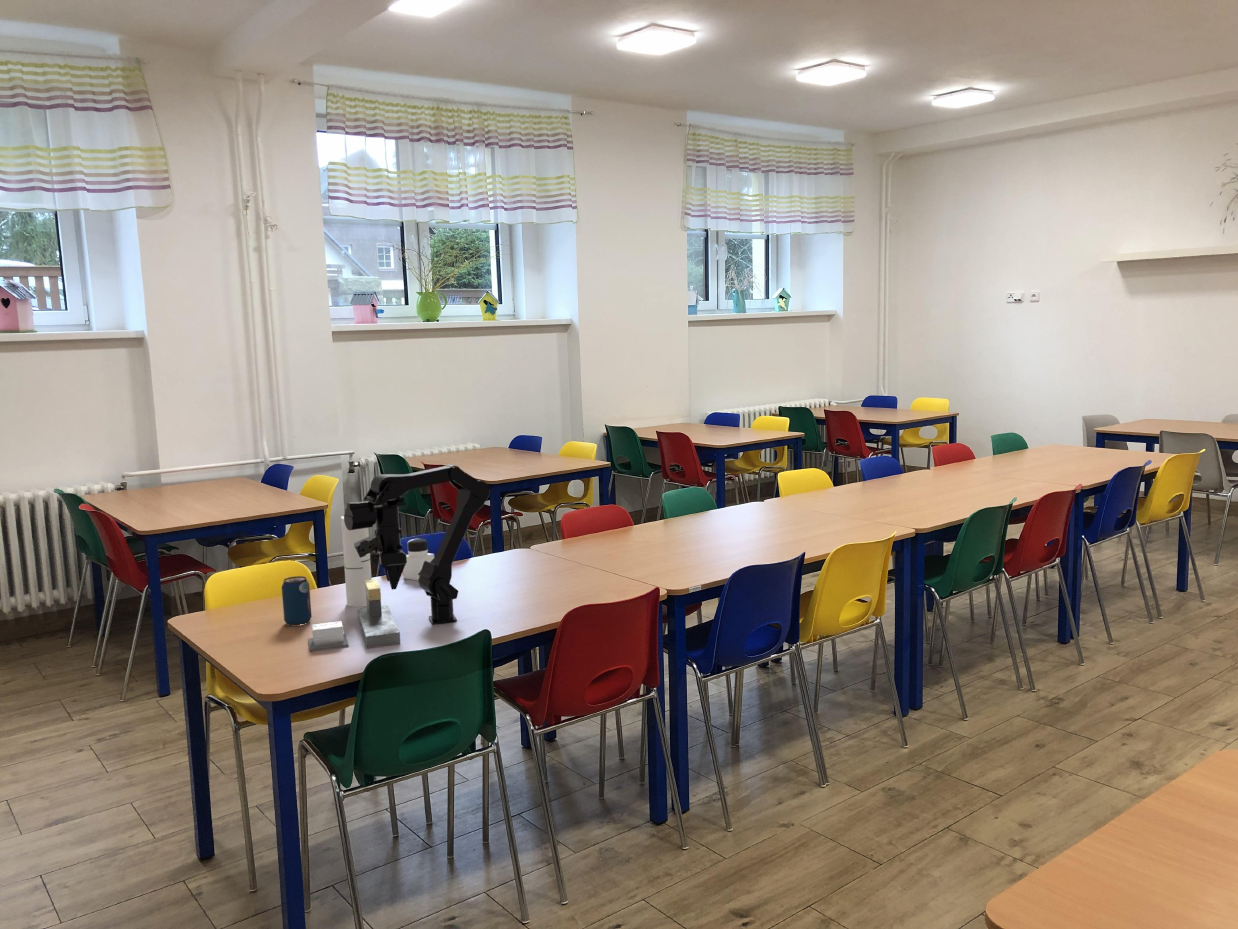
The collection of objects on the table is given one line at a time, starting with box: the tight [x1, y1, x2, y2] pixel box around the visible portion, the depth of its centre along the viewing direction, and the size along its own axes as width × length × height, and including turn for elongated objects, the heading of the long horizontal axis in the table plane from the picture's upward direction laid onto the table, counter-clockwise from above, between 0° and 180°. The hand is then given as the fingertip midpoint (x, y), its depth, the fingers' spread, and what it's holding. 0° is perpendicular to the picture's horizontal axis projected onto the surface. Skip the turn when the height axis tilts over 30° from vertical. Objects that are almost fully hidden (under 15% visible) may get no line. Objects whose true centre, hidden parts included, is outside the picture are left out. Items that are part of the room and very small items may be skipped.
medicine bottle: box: [402, 538, 435, 581], centre depth 299 cm, size 7×7×12 cm
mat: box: [307, 633, 350, 652], centre depth 235 cm, size 9×9×1 cm
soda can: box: [281, 575, 313, 626], centre depth 253 cm, size 7×7×12 cm
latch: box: [365, 579, 382, 601], centre depth 251 cm, size 10×3×3 cm, turn 20°
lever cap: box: [311, 620, 344, 646], centre depth 235 cm, size 5×7×4 cm
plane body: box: [356, 594, 401, 649], centre depth 244 cm, size 26×8×7 cm, turn 20°
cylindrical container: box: [340, 515, 373, 608], centre depth 270 cm, size 7×7×25 cm
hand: (391, 585), depth 243 cm, fingers open, 9 cm apart
